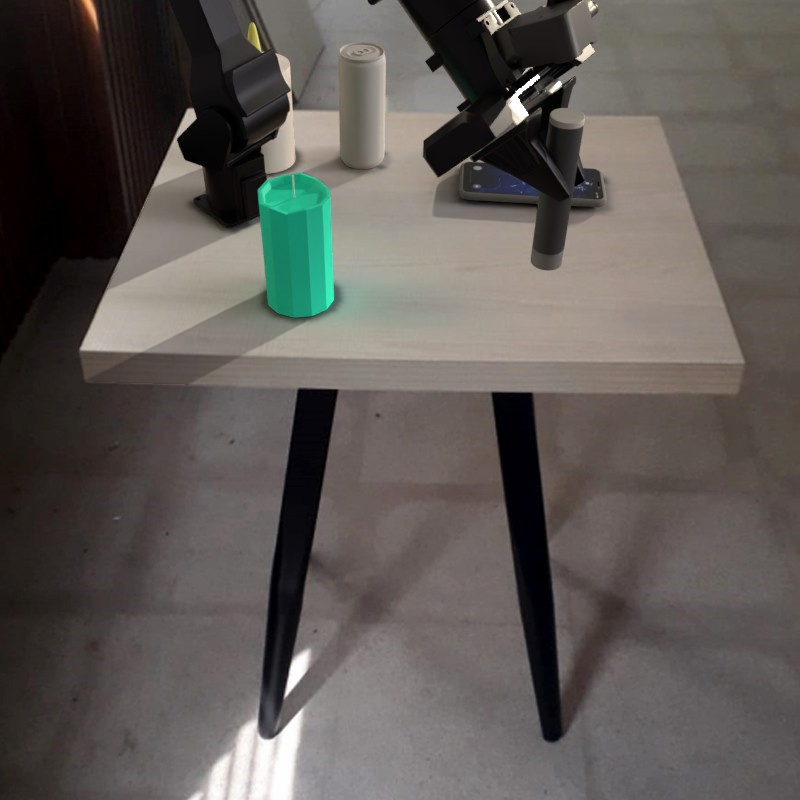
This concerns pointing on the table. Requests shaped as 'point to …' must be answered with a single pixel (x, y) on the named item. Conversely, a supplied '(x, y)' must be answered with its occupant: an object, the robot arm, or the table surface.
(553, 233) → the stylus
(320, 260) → the candle
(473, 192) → the smartphone
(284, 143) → the candle
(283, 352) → the table surface
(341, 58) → the beverage can
